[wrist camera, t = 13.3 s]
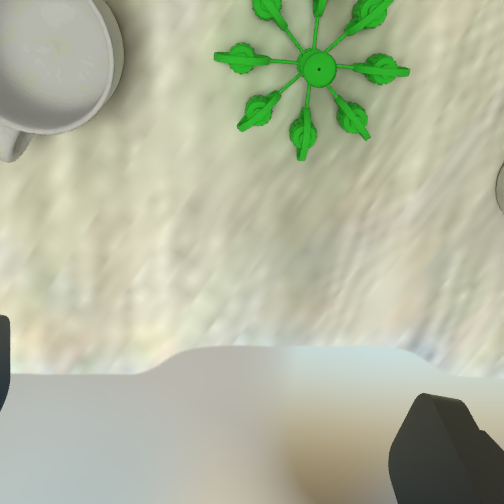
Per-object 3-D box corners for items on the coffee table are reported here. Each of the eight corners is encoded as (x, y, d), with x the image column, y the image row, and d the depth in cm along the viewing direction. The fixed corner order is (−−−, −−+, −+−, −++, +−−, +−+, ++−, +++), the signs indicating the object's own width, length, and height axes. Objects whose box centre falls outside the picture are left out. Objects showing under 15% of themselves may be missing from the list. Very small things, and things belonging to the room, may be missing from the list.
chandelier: (219, -57, 34) (212, -74, 28) (422, -40, 34) (460, -52, 28) (212, 147, 41) (205, 170, 34) (382, 159, 41) (405, 184, 35)
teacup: (39, -71, 33) (-19, -96, 26) (164, 35, 36) (143, 39, 29) (-42, 87, 38) (-110, 103, 31) (75, 169, 41) (38, 200, 34)
